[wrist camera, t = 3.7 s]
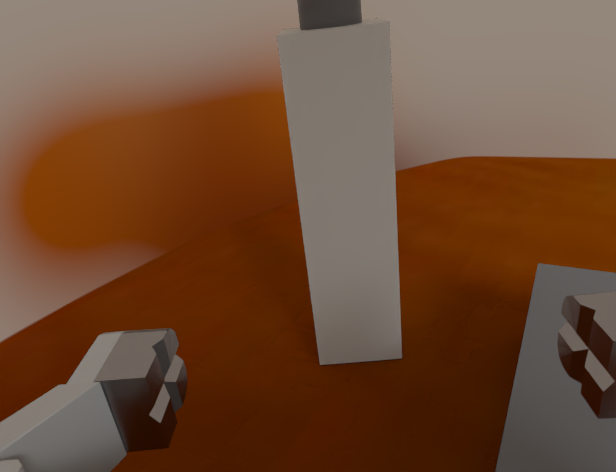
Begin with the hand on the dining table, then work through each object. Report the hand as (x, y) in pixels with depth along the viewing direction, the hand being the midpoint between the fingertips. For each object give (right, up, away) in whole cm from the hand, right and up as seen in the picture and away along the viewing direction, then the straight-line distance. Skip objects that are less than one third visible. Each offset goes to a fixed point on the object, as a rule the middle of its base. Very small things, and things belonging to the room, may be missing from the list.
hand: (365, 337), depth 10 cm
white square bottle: (+1, -3, +15) cm, 15 cm away
